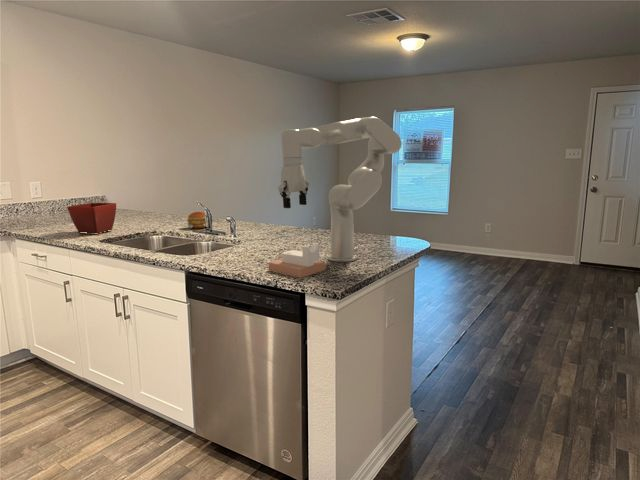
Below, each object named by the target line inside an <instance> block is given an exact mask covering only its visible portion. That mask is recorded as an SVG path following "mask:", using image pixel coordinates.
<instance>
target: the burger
mask: <svg viewBox="0 0 640 480" xmlns="http://www.w3.org/2000/svg"><path fill="white" fill-rule="evenodd" d="M204 213H205V212H203V211H194V212H192V213H190V214H189V215H188V217H187V226H188V228H190V229H195V230H196V229H197V230H198V229H206V228H205V223H206V221H205V215H204Z"/></svg>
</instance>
